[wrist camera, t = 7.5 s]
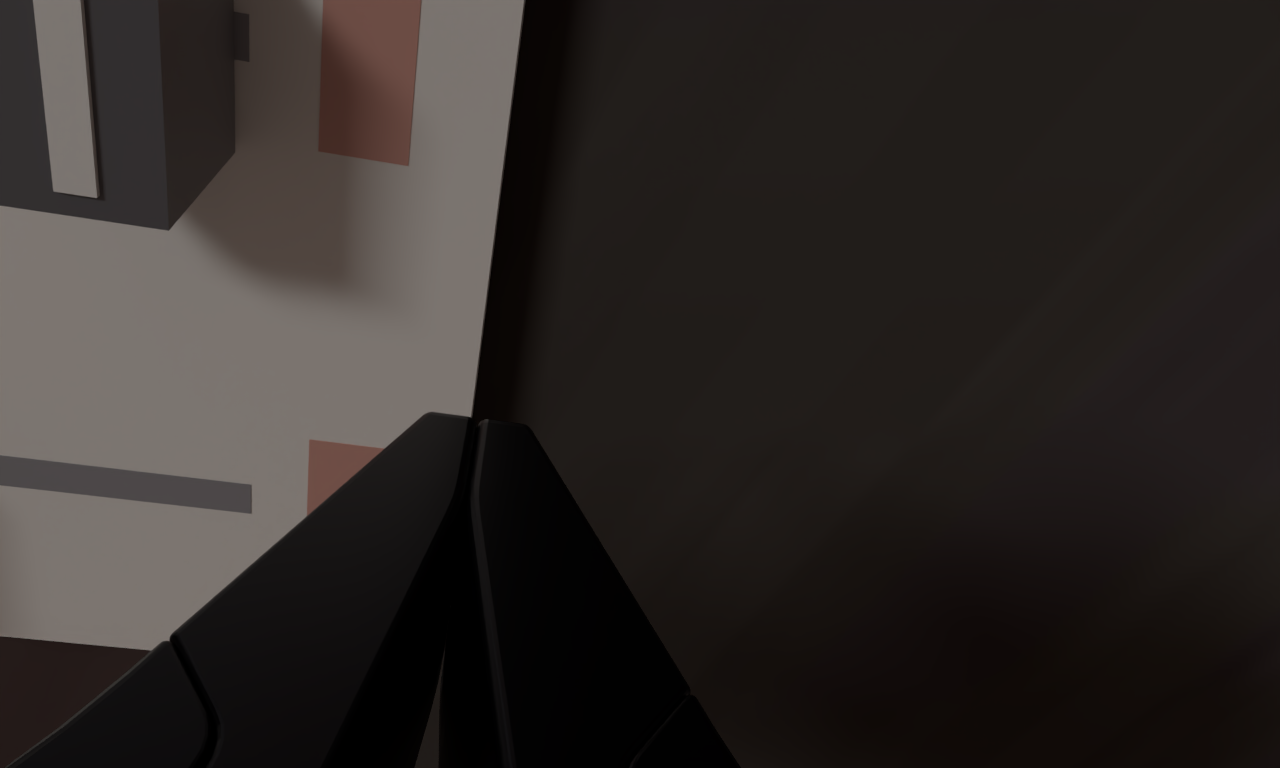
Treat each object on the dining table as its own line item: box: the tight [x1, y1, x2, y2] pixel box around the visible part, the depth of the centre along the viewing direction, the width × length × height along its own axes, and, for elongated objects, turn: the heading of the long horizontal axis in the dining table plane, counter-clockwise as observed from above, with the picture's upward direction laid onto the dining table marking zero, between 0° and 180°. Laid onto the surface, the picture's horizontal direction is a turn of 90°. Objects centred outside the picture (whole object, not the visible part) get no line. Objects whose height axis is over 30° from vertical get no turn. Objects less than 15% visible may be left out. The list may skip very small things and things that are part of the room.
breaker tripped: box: [0, 0, 235, 231], centre depth 16 cm, size 2×4×4 cm, turn 169°
